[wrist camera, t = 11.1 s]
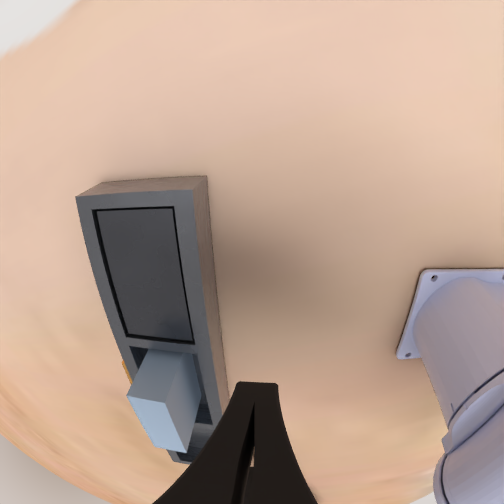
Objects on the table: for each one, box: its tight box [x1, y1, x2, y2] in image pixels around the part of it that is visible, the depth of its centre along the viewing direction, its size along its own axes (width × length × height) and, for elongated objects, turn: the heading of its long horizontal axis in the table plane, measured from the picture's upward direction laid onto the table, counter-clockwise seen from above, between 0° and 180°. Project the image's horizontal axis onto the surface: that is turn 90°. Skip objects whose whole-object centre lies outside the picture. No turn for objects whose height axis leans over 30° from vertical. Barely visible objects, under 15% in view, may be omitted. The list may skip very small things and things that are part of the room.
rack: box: [76, 176, 230, 464], centre depth 22 cm, size 8×30×3 cm, turn 1°
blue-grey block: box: [126, 349, 202, 453], centre depth 20 cm, size 3×7×6 cm, turn 1°
